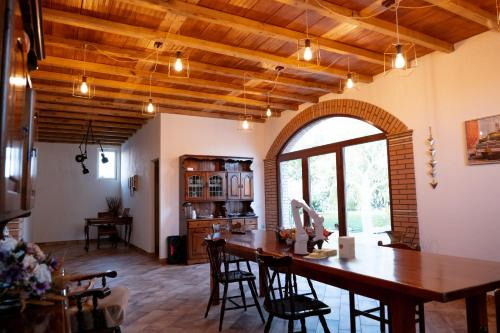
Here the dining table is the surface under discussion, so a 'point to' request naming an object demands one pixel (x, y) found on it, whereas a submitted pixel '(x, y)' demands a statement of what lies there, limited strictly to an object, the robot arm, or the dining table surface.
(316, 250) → the deck
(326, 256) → the mat
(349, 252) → the supplement box
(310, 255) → the card
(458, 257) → the dining table surface
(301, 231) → the robot arm
